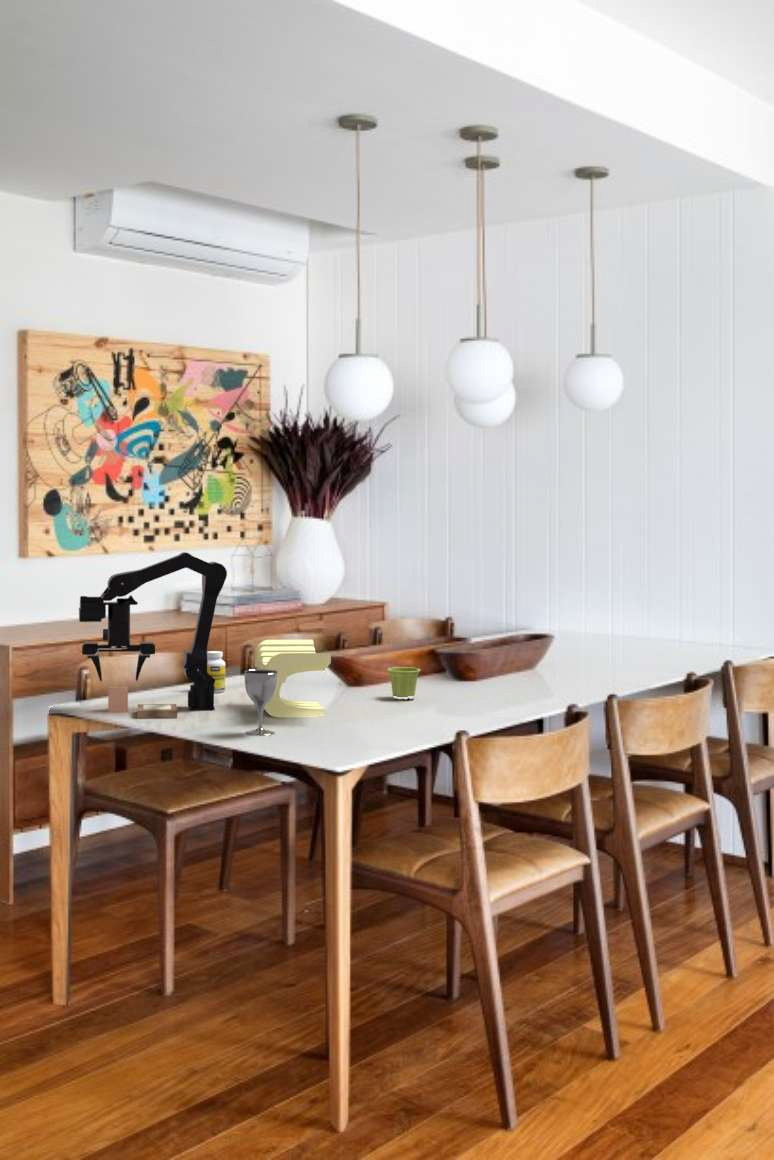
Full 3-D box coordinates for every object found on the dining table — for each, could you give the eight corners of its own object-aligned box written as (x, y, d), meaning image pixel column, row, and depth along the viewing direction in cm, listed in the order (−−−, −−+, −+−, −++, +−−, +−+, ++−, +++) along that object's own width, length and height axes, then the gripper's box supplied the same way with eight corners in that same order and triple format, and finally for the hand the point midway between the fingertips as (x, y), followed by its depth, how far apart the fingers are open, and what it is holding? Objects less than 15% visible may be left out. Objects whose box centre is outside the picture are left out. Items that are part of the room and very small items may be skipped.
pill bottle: (204, 693, 374) (204, 653, 373) (201, 690, 380) (201, 650, 379) (226, 693, 376) (227, 653, 375) (223, 689, 382) (223, 650, 381)
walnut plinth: (175, 711, 342) (176, 703, 342) (177, 718, 332) (177, 709, 332) (137, 711, 340) (137, 703, 340) (137, 718, 330) (137, 710, 330)
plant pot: (383, 700, 368) (384, 670, 367) (391, 695, 377) (392, 666, 376) (415, 702, 366) (416, 672, 365) (422, 697, 375) (423, 667, 374)
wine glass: (277, 730, 318) (278, 669, 317) (275, 736, 310) (276, 673, 309) (245, 729, 318) (245, 668, 317) (242, 735, 310) (243, 673, 309)
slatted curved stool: (254, 704, 357) (255, 639, 356) (311, 703, 360) (312, 639, 359) (267, 723, 328) (268, 653, 327) (329, 722, 331) (330, 652, 330)
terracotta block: (127, 709, 344) (127, 686, 344) (127, 712, 339) (127, 689, 339) (108, 709, 343) (108, 687, 343) (108, 712, 338) (108, 689, 338)
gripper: (154, 618, 349) (154, 676, 350) (83, 618, 346) (83, 676, 347) (155, 622, 339) (154, 682, 340) (82, 623, 335) (81, 682, 336)
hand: (118, 680), depth 341 cm, fingers open, 9 cm apart
